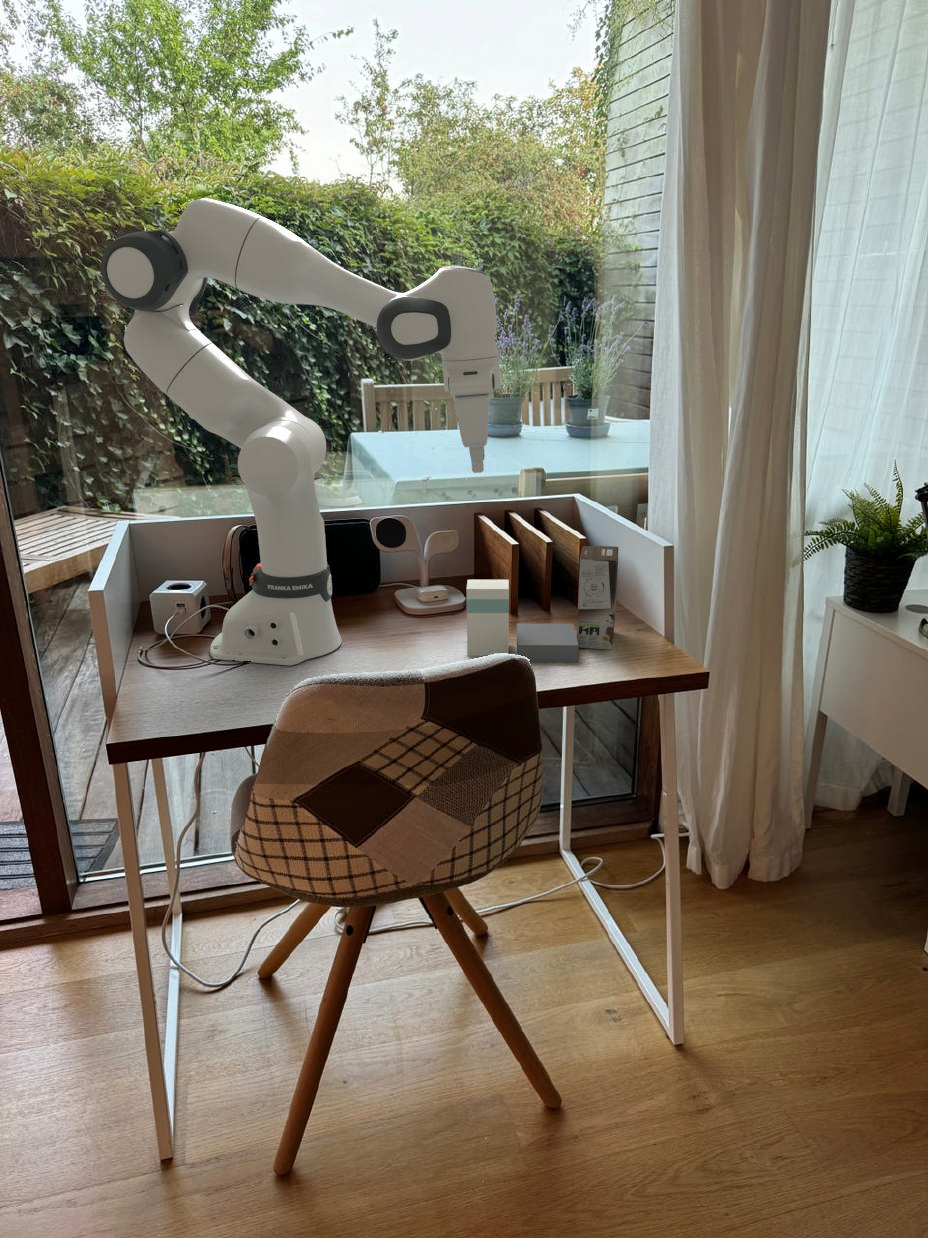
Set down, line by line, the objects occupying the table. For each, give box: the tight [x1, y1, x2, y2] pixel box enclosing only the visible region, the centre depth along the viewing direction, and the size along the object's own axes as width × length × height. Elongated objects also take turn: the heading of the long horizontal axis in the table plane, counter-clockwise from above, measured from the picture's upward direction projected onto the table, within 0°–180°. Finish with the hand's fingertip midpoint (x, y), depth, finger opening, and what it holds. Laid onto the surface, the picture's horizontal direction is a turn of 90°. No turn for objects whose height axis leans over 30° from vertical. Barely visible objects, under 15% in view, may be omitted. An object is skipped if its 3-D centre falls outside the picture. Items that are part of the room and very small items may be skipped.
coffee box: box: [576, 545, 619, 651], centre depth 153 cm, size 9×6×16 cm
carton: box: [465, 579, 510, 657], centre depth 149 cm, size 7×5×12 cm
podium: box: [516, 623, 579, 663], centre depth 151 cm, size 10×10×3 cm
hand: (478, 466), depth 141 cm, fingers open, 8 cm apart
